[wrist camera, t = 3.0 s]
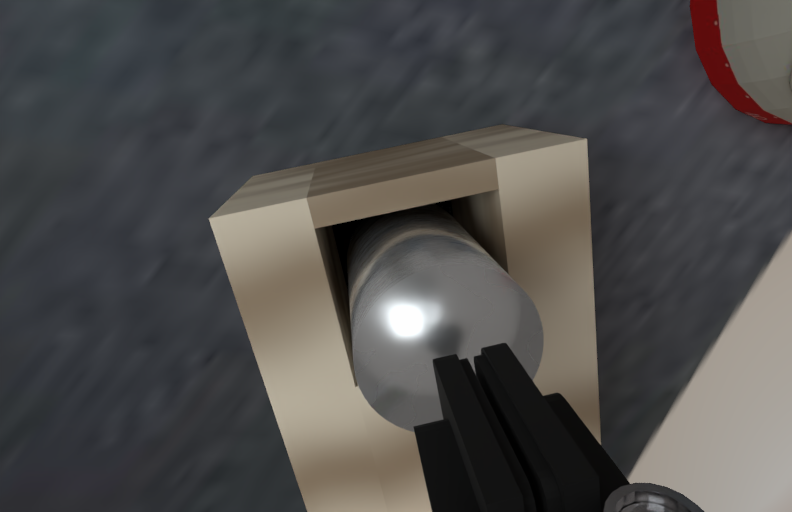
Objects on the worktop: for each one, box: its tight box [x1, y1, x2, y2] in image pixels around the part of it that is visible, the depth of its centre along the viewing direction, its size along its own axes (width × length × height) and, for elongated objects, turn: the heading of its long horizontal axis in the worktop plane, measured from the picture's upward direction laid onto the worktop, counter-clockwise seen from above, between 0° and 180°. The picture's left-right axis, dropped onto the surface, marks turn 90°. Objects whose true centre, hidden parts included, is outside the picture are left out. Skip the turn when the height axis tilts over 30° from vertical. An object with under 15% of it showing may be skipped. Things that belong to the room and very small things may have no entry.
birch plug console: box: [209, 124, 601, 512], centre depth 22 cm, size 21×12×8 cm, turn 11°
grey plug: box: [347, 204, 544, 432], centre depth 16 cm, size 5×5×8 cm
